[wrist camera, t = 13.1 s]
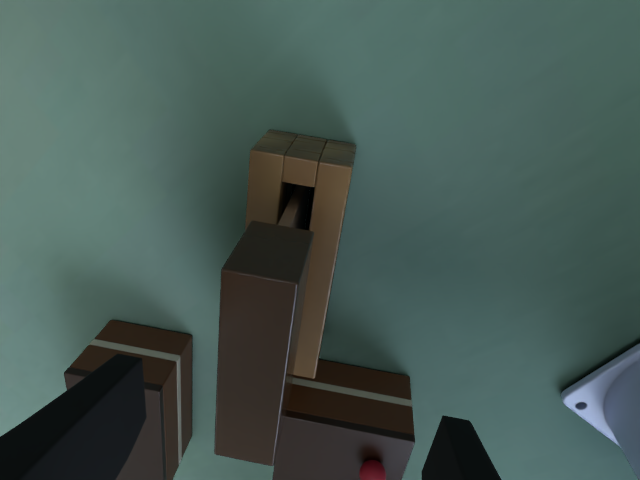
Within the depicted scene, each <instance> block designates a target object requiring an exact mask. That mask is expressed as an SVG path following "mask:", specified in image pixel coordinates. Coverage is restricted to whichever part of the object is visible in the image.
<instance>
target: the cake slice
mask: <svg viewBox="0 0 640 480" xmlns="http://www.w3.org/2000/svg"><path fill="white" fill-rule="evenodd" d="M116 354H123V355H128V356H134V357H139V358H142V363H143V376H144V389H145V403H146V416H147V418H146V420H145V422H144V425H143V427H142V429H141V431H140V434H139V436H138V438H137V440H136V442H135V445H134V447H133V449H132V451H131V453H130V455H129V457H128V459H127V461H126V463H125V465H124V466H123V468H122V470H121V472H120V473H119V475H118V477H117V478H116V480H173V477H174V475H175V473H176V471H177V468H178V466H179V464H180V462H181V460H182V457H183V455H184V453H185V450H186V448H187V446H188V444H189V441H190V439H191V437H192V335H188V334H183V333H178V332H172V331H167V330H162V329H157V328H152V327H146V326H141V325H136V324H131V323H125V322H120V321H115V320H110V321H109V322H108V324H107V325H106V326H105V327H104V328H103V329H102V330H101V332H100V333H99V334H98V335H97V336H96V337H95V339H93V340H92V341H91V342H90V344H89V345H88V346H87V347H86V349H85V350H84V351H83V352H82V353H81V354H80V356H79V357H78V358H77V359H76V360H75V361H74V362H73V364H72V365H71V366H70V367H69V368H68V369H67V370H66V371H65V372H64V376H65V382H66V387H67V390H68V389H70V388H71V387H72V386H74V385H75V384H77V383H78V382H79V381H81V380H82V379H83V378H85V377H86V376H87V375H89V374H90V373H91V372H93V371H94V370H95V369H97V368H98V367H99V366H101V365H102V364H104V363H105V362H106V361H108V360H109V359H110V358H112V357H113V356H115V355H116Z"/></svg>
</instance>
